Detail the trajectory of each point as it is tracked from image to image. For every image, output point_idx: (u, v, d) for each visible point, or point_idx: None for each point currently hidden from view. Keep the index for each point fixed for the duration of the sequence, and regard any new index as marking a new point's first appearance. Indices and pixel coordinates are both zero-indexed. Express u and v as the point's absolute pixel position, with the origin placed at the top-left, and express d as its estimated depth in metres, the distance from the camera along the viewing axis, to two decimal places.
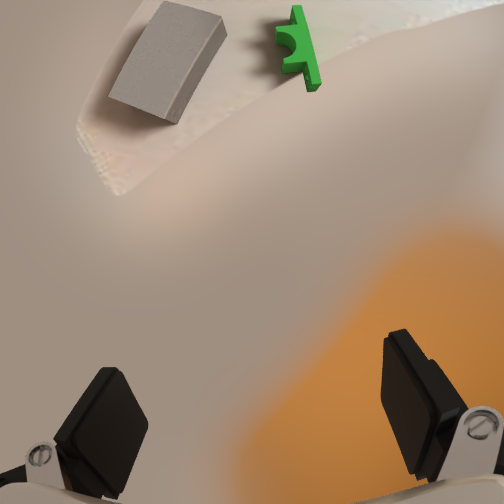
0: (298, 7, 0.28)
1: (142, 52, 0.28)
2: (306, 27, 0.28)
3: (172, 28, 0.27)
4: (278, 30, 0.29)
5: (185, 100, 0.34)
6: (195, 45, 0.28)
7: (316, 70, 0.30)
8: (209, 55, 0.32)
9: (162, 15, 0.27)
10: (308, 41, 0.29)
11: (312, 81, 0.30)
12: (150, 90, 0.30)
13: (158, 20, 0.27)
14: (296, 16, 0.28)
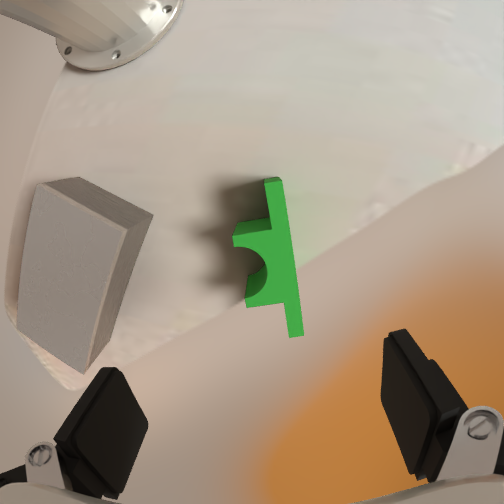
0: (276, 187, 0.19)
1: (33, 281, 0.20)
2: (287, 235, 0.20)
3: (57, 247, 0.19)
4: (236, 244, 0.20)
5: (110, 323, 0.26)
6: (94, 286, 0.19)
7: (298, 316, 0.21)
8: (129, 265, 0.24)
9: (40, 217, 0.18)
10: (289, 265, 0.20)
11: (289, 333, 0.22)
12: (59, 338, 0.21)
13: (37, 226, 0.18)
14: (271, 210, 0.19)
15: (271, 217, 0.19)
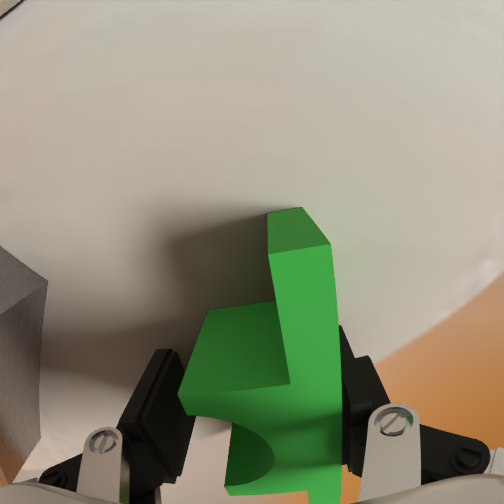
0: (309, 268, 0.05)
1: None
2: (334, 394, 0.06)
3: None
4: (192, 411, 0.07)
5: (29, 430, 0.12)
6: None
7: (332, 500, 0.08)
8: (21, 368, 0.10)
9: None
10: (328, 445, 0.07)
11: None
12: None
13: None
14: (289, 337, 0.06)
15: (290, 356, 0.06)
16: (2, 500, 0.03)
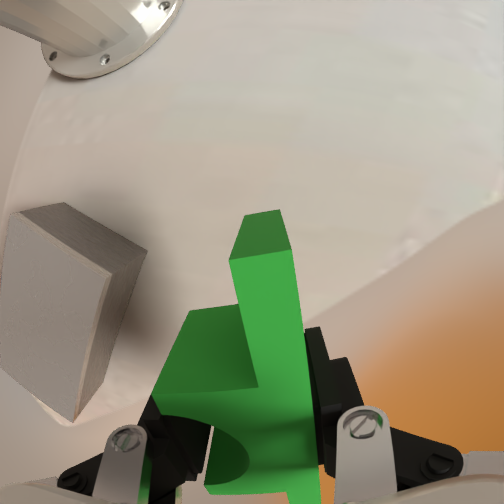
0: (270, 274, 0.05)
1: (12, 321, 0.16)
2: (303, 398, 0.06)
3: (35, 288, 0.15)
4: (166, 410, 0.07)
5: (102, 368, 0.22)
6: (77, 336, 0.16)
7: (313, 502, 0.08)
8: (119, 308, 0.20)
9: (15, 252, 0.15)
10: (302, 448, 0.07)
11: None
12: (44, 384, 0.17)
13: (13, 263, 0.15)
14: (254, 341, 0.06)
15: (256, 360, 0.06)
16: (2, 500, 0.03)
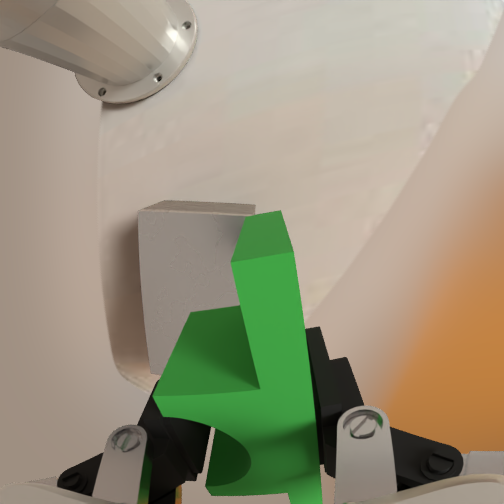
0: (272, 276, 0.05)
1: (161, 311, 0.22)
2: (305, 400, 0.06)
3: (183, 262, 0.21)
4: (167, 412, 0.07)
5: None
6: None
7: (314, 503, 0.08)
8: None
9: (152, 241, 0.21)
10: (304, 450, 0.07)
11: None
12: None
13: (152, 252, 0.21)
14: (256, 343, 0.06)
15: (258, 362, 0.06)
16: (2, 500, 0.03)
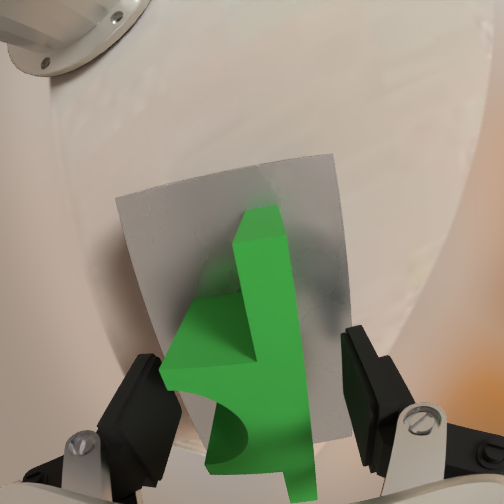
0: (268, 256, 0.06)
1: None
2: (298, 373, 0.07)
3: (221, 271, 0.11)
4: (172, 386, 0.08)
5: None
6: (329, 284, 0.11)
7: (309, 484, 0.09)
8: None
9: (154, 247, 0.11)
10: (298, 425, 0.08)
11: (292, 499, 0.09)
12: None
13: (159, 267, 0.11)
14: (253, 318, 0.07)
15: (255, 335, 0.07)
16: (2, 500, 0.03)
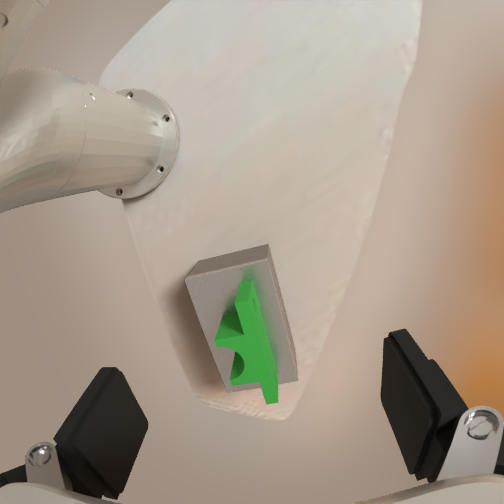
0: (244, 305, 0.24)
1: None
2: (256, 338, 0.25)
3: (229, 305, 0.29)
4: (218, 345, 0.25)
5: (290, 335, 0.35)
6: (271, 308, 0.29)
7: (271, 390, 0.26)
8: (277, 285, 0.33)
9: (202, 297, 0.29)
10: (260, 358, 0.25)
11: (266, 401, 0.27)
12: None
13: (204, 305, 0.29)
14: (242, 322, 0.24)
15: (242, 326, 0.25)
16: (2, 500, 0.03)
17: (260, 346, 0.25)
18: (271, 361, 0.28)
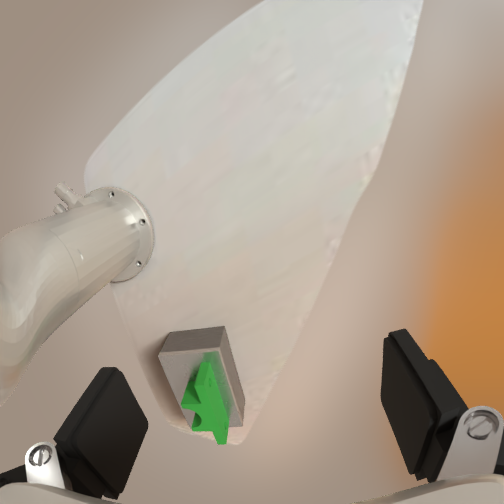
0: (200, 387, 0.32)
1: None
2: (210, 406, 0.32)
3: (190, 375, 0.37)
4: (183, 407, 0.33)
5: (240, 391, 0.42)
6: (221, 380, 0.37)
7: (221, 437, 0.34)
8: (230, 357, 0.40)
9: (171, 368, 0.36)
10: (212, 417, 0.33)
11: (218, 442, 0.35)
12: None
13: (172, 373, 0.37)
14: (199, 396, 0.32)
15: (200, 399, 0.32)
16: (2, 500, 0.03)
17: (212, 411, 0.33)
18: (222, 415, 0.36)
